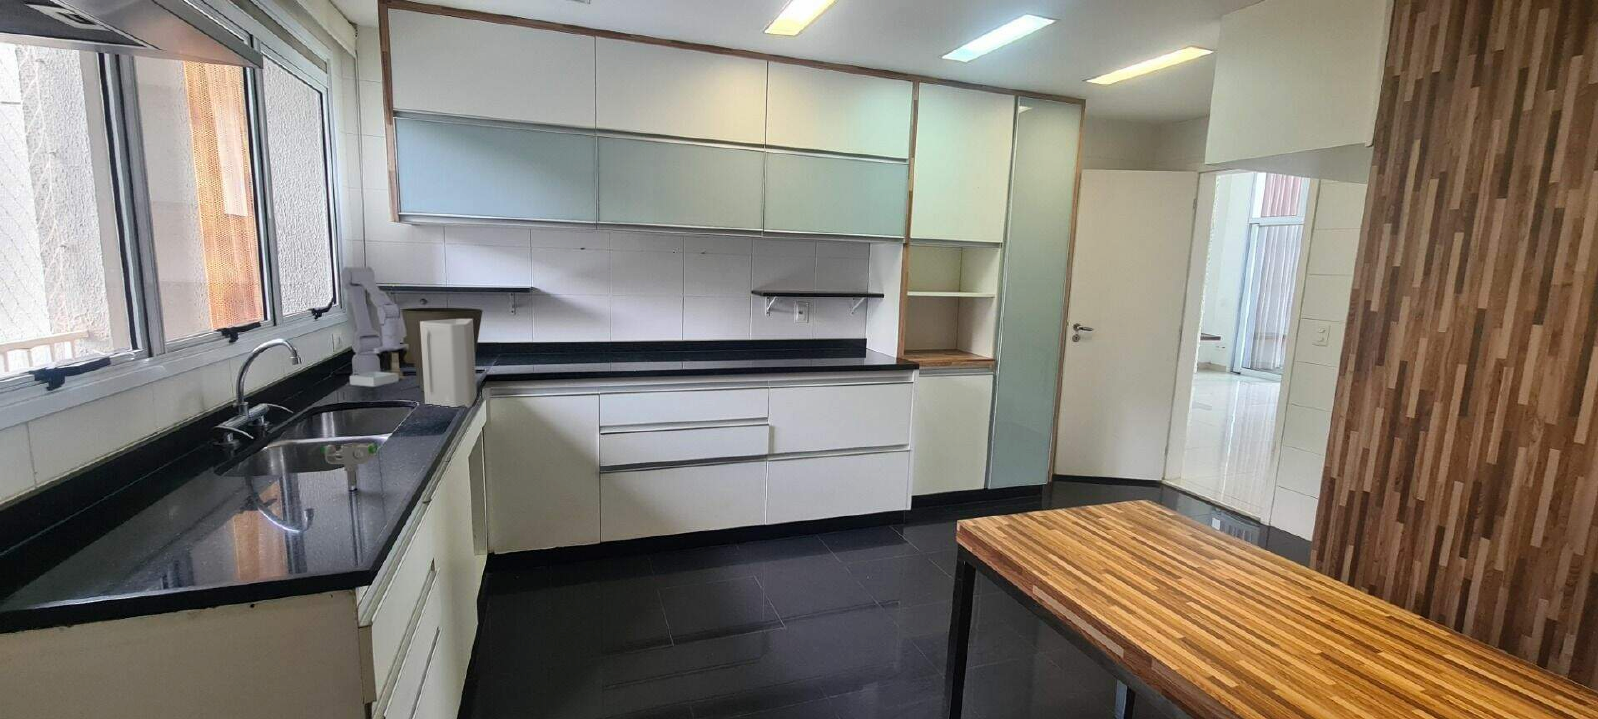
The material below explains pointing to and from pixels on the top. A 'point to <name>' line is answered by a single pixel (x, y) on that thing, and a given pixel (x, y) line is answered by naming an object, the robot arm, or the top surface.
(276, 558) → the top surface
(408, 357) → the squeeze bottle
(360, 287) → the robot arm
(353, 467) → the mechanical component
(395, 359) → the strut
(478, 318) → the waste basket
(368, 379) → the tray
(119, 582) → the top surface
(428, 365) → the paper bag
